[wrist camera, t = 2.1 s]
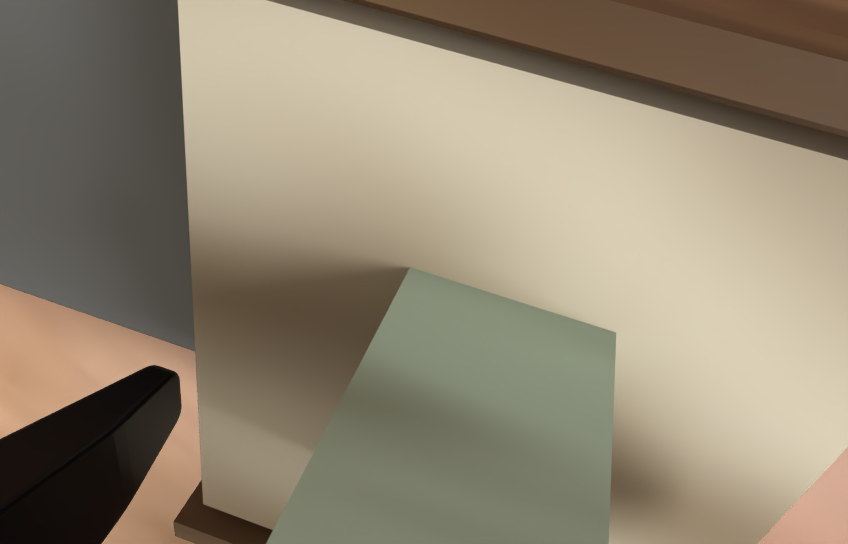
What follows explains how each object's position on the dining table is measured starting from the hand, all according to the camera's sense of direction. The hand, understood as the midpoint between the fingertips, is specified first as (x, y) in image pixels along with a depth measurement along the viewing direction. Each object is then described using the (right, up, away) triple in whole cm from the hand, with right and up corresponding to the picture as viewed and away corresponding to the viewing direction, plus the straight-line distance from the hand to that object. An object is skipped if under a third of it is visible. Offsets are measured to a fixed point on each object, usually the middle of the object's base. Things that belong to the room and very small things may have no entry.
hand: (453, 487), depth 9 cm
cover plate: (+1, +1, +2) cm, 2 cm away
